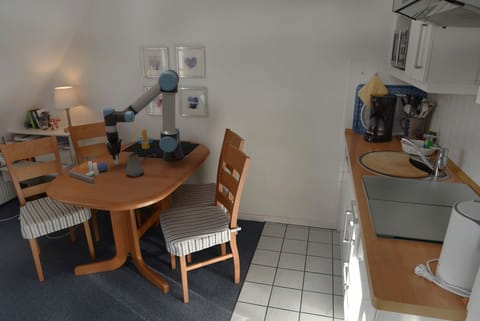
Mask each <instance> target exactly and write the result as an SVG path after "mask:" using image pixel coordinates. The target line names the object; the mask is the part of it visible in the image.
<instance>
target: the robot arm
mask: <svg viewBox="0 0 480 321" xmlns="http://www.w3.org/2000/svg"><path fill="white" fill-rule="evenodd" d="M179 82H180V76H179V73H178V72H177V71H175V70H173V69H167V70H166V71H165V70H164V71H163V72H161V73H160V74H159V77H158V79H157V82H156V83H155V84H153V85H152V86H151V87H150V88H149V89H148V90H146V91H144V92H143V94H142V95H141V96H139V97H138V98H137V99H136V100H134V101H133V102H132V103H131V104H130V105H129V106H128V107H126V108H125V109H124V110H122V111H118V110H117V111H116V109H115V108H113V107H109V108H108V107H107V108H104V109H103V111H102V113H103V114H102V115H103V120H104V128H105V132H106V133H105V134H106V138H107V139H106V142H104V146H106V149H107V152H108V154H109V156H112V160H113V162H114V165H119V163H120V162H119V155H120V154H121V153H122V152H121V150H122V149H121V148H122V142H123V141H122V139H121V138H119V132H118V123H134V122H135V117H136V115H138V114H139V113H140V112H141V111H142V110H144V109H145V108H146V107H148V106H149V105H150V104H151V103H152V102H153V101H155V100H156V99H157V98H158V97H159V96H162V97H161V100H162V101H161V102H162V105H161V106H162V107H161V109H162V110H161V111H162V112H161V113H162V129H161V131H159V133H160V137H159V138H160V140H159V142H158V143H159V148H160V149H161V150H162V151H163V155H162V159H163V161H165V162H179V161H182V160H183V159H184V158H185V157H184V153H183V150H182V148H181V138H180V137H181V135H180V133H181V132H180V128H178V127H176V95H177V94H178V92H179V91H178V90H179V89H178V88H179V86H178V85H179Z"/></svg>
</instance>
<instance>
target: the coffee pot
mask: <svg viewBox="0 0 480 321" xmlns="http://www.w3.org/2000/svg"><path fill="white" fill-rule="evenodd" d="M153 156H154V157H155V158H156V157H157V154H156V153H151V154H149V155H147V156H144V157H143V158H140V159H138V157H139V155H138V154H130V155H128V156H127V158H128V163H127V166H126V169H125V173H126V174H127V175H128V176H130V177H139V176H141V175H142V174H143V173H144V171H145V169H144V167H143V166H142V164H141V162H140V161H143V160H146V159H148V158H151V157H153Z"/></svg>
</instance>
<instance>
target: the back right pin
mask: <svg viewBox="0 0 480 321" xmlns="http://www.w3.org/2000/svg"><path fill="white" fill-rule="evenodd" d="M92 163H93V162H92V160H91V161H87V166H88V171H89V172H88V173H90V172H93V171H94V170H93V164H92Z"/></svg>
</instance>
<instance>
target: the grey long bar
mask: <svg viewBox="0 0 480 321" xmlns="http://www.w3.org/2000/svg"><path fill="white" fill-rule="evenodd" d="M68 174H69V176H70V177H71V178H74V179H78V180H80V181H84V182H88V183H90V184H93V183H94V184H95V183H96V180H95V178H94V177H92V176H90V177H88V176H85V174H82V173H78V172H76V171H75V172H74V171H70V172H68Z"/></svg>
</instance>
